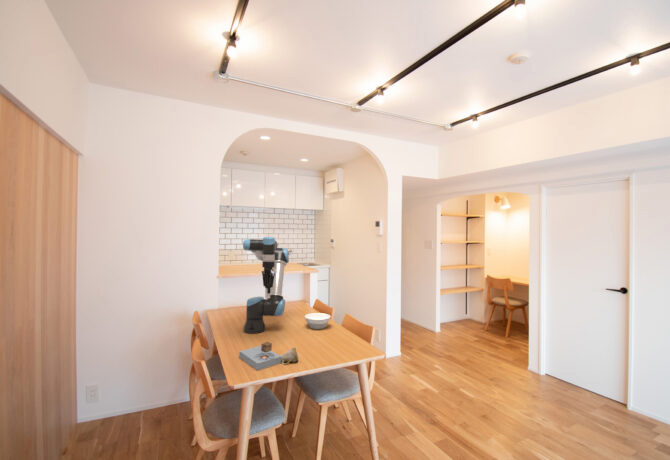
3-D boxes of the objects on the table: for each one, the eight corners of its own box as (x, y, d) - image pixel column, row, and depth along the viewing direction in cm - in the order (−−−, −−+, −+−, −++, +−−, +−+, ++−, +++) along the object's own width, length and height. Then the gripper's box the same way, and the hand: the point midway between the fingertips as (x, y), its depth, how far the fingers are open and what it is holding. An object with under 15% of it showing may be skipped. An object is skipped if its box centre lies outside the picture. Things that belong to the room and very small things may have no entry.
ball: (260, 356, 166) (264, 354, 164) (265, 358, 168) (269, 356, 166) (259, 363, 163) (263, 361, 162) (264, 365, 165) (268, 363, 164)
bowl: (335, 326, 233) (335, 315, 233) (320, 333, 217) (320, 321, 217) (314, 322, 244) (314, 311, 244) (299, 328, 227) (299, 316, 227)
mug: (278, 359, 170) (287, 342, 173) (293, 368, 170) (302, 350, 173) (277, 361, 163) (286, 344, 166) (293, 370, 163) (302, 352, 166)
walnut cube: (261, 350, 173) (261, 343, 173) (266, 348, 176) (266, 341, 176) (266, 352, 171) (266, 345, 171) (271, 350, 174) (271, 343, 174)
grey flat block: (239, 357, 172) (239, 351, 172) (262, 351, 181) (262, 345, 181) (257, 370, 156) (257, 363, 156) (281, 363, 165) (281, 356, 166)
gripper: (258, 260, 198) (257, 297, 198) (268, 262, 188) (267, 300, 188) (268, 260, 203) (267, 295, 203) (279, 261, 193) (278, 299, 193)
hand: (267, 298), depth 195 cm, fingers closed
